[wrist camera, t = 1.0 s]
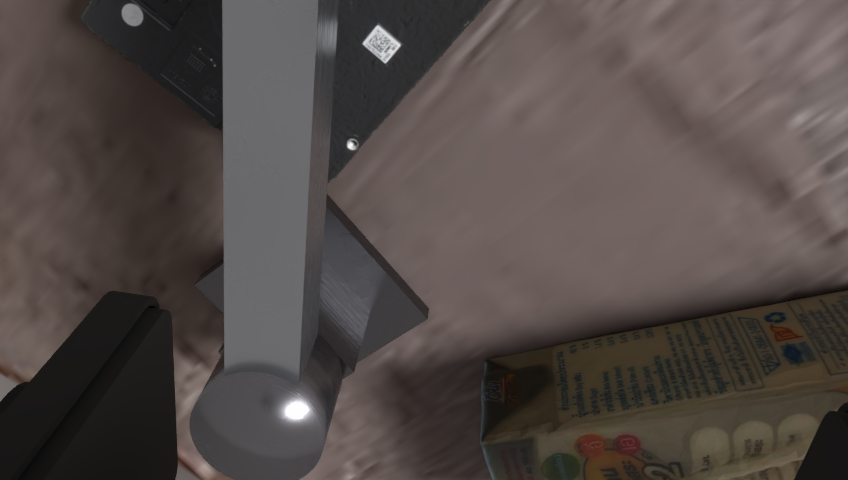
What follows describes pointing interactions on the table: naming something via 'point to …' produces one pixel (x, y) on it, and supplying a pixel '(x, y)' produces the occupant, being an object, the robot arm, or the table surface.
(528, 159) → the table surface
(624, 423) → the beverage carton
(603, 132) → the table surface
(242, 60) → the swing bar
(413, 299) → the grey pedestal base
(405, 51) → the disk drive
